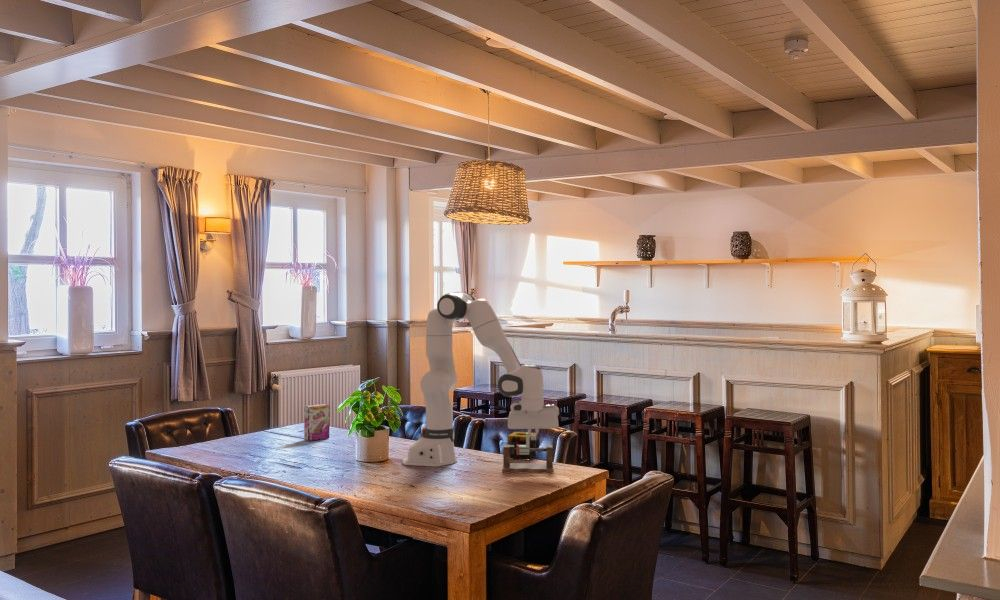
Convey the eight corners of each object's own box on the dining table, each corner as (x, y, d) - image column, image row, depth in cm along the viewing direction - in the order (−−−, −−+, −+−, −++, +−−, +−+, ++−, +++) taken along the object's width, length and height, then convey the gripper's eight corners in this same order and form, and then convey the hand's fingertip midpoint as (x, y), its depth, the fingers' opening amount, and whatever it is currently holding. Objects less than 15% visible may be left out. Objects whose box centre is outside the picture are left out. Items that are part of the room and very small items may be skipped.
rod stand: (502, 472, 313) (502, 447, 313) (503, 466, 323) (503, 442, 322) (553, 472, 312) (553, 447, 311) (553, 467, 322) (553, 442, 321)
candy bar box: (308, 441, 376) (308, 407, 376) (303, 440, 380) (303, 405, 380) (330, 438, 383) (329, 404, 383) (325, 437, 387) (325, 403, 387)
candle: (530, 460, 334) (529, 437, 334) (507, 459, 337) (506, 435, 337) (536, 455, 344) (536, 432, 343) (514, 454, 347) (514, 431, 347)
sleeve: (519, 454, 316) (519, 433, 315) (519, 452, 319) (519, 432, 319) (529, 454, 315) (529, 434, 315) (529, 452, 319) (529, 432, 318)
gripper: (558, 403, 319) (559, 437, 319) (507, 404, 320) (508, 438, 320) (559, 405, 313) (559, 440, 313) (506, 406, 314) (507, 441, 314)
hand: (533, 439), depth 317 cm, fingers closed
